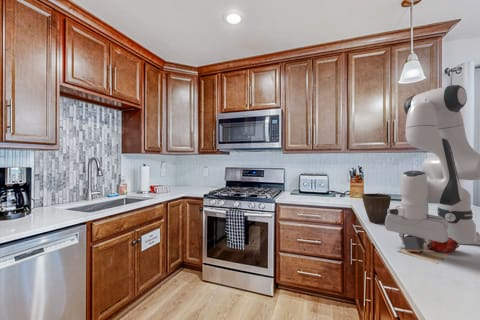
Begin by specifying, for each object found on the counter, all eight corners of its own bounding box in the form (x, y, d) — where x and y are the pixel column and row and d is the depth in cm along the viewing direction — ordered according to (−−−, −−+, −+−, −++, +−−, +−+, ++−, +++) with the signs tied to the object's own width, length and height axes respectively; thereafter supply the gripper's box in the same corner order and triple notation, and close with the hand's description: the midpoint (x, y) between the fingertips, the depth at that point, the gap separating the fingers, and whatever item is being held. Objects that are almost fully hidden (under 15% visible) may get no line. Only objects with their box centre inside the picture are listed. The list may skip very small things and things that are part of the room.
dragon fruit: (419, 252, 98) (456, 261, 93) (426, 246, 91) (466, 256, 86) (418, 233, 102) (454, 240, 97) (425, 226, 95) (463, 233, 90)
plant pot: (371, 226, 132) (370, 197, 132) (357, 219, 147) (357, 193, 147) (397, 225, 133) (397, 197, 132) (381, 218, 148) (380, 193, 147)
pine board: (409, 248, 100) (409, 244, 100) (449, 259, 89) (449, 255, 89) (396, 255, 93) (396, 251, 93) (438, 267, 82) (438, 263, 82)
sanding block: (412, 247, 96) (409, 234, 97) (425, 247, 93) (421, 234, 94) (405, 250, 92) (402, 237, 93) (418, 251, 89) (415, 237, 90)
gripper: (451, 216, 86) (451, 253, 86) (389, 207, 103) (390, 238, 103) (445, 218, 82) (445, 258, 83) (383, 209, 99) (383, 241, 99)
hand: (414, 247), depth 93 cm, fingers closed on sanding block, 5 cm apart
